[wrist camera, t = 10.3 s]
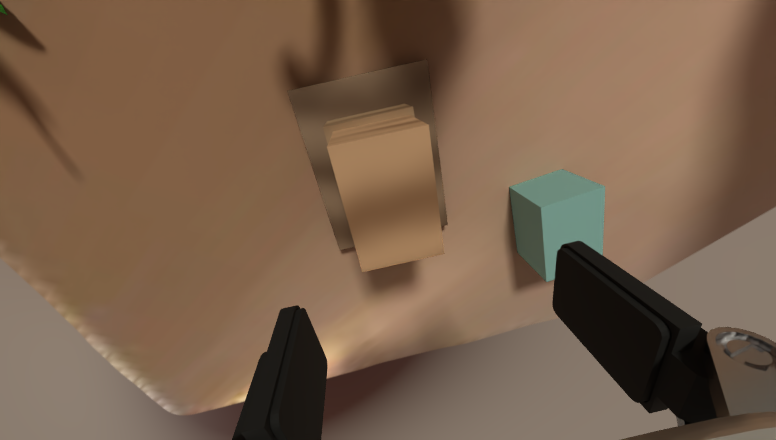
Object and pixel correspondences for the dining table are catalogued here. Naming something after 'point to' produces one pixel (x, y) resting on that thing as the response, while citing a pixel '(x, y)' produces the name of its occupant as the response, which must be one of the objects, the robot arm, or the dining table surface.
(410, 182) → the tan block
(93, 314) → the dining table surface
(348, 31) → the dining table surface
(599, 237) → the teal brick
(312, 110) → the pedestal board
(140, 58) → the dining table surface
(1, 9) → the flower
